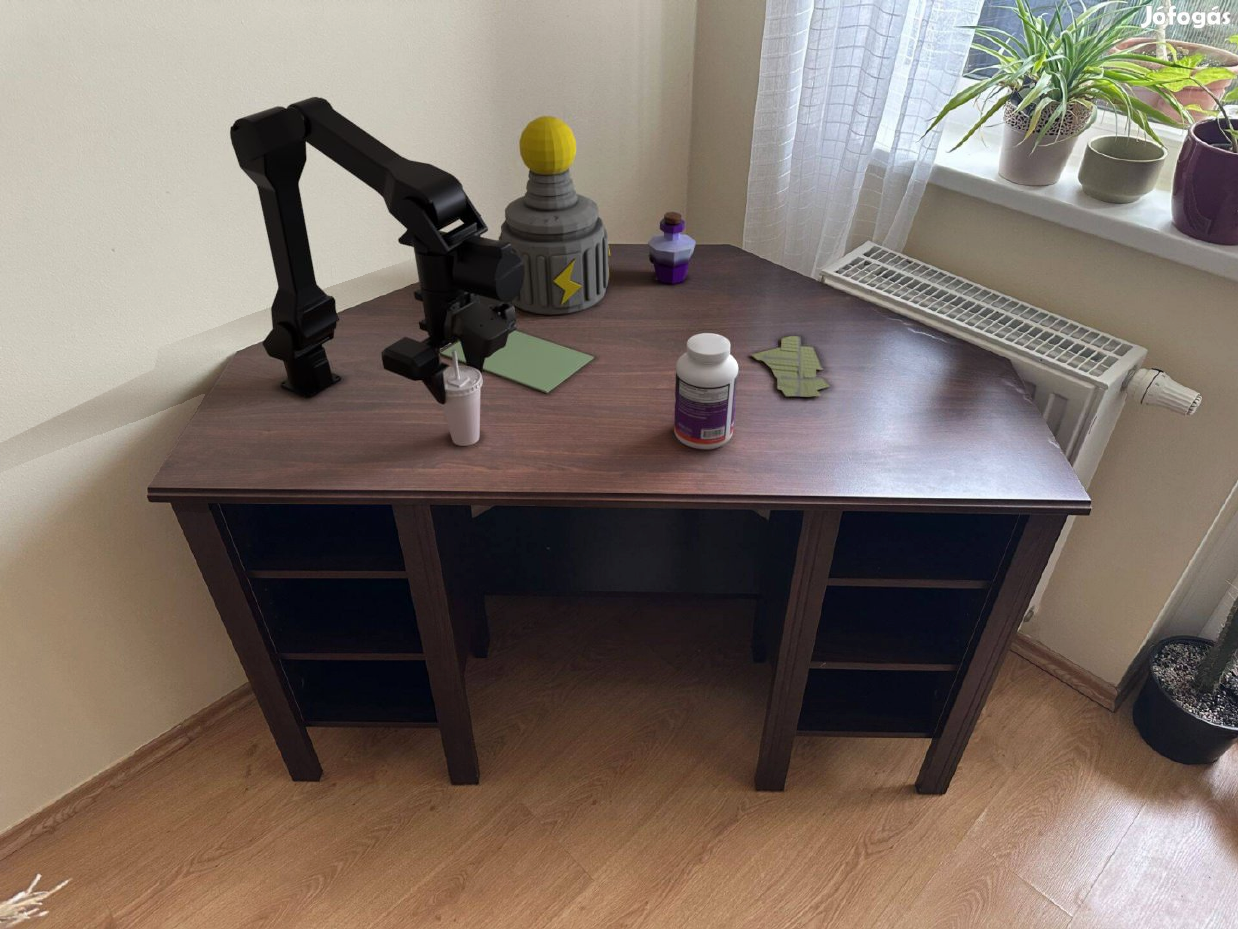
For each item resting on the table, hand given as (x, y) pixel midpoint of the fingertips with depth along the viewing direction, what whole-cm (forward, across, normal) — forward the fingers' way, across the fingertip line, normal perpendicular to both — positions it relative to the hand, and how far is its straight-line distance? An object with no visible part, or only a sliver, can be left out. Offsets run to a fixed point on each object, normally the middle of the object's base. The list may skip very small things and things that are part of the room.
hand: (459, 391), depth 114 cm
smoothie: (+8, 0, 0) cm, 8 cm away
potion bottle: (+8, +58, +2) cm, 59 cm away
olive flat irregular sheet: (+8, +41, -29) cm, 51 cm away
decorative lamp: (+8, +42, +16) cm, 46 cm away
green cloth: (+8, +21, +8) cm, 24 cm away
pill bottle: (+8, +18, -27) cm, 33 cm away
